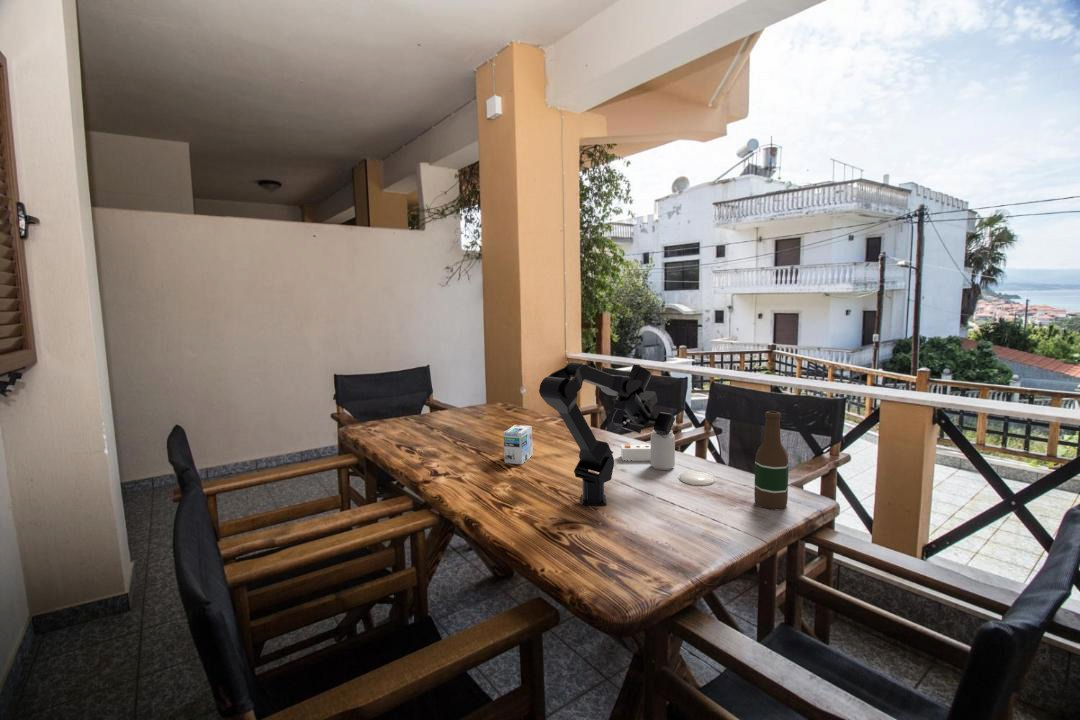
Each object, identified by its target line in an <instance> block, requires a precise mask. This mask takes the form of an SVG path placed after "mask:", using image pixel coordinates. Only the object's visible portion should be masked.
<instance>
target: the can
mask: <svg viewBox="0 0 1080 720" xmlns="http://www.w3.org/2000/svg"><path fill="white" fill-rule="evenodd" d="M650 445H651V461H650V465H651V467H652V468H653V469H655V470H658V471H669V470H672V469H673V468H674V467H675V466H676V462H675V461H676V450H675V449H676V436H675V434H674V431H673V429H671V430H670V433H669V434H668V436H667V439H665V438H663V437H661V436H659V435H657V434H656V432H655V431H654V429H652V433H651V434H650Z"/></svg>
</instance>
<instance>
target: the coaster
mask: <svg viewBox="0 0 1080 720" xmlns="http://www.w3.org/2000/svg"><path fill="white" fill-rule="evenodd" d="M678 476H679V477H678V478H679V480H680V481H681V482H683V483H684V484H687V485H692V486H701V485H702V486H710V485H712V484H714V483H715V482H716V478H715V476H714V475H712V474H710V473H707V472H703V471H685V472H681V473H680V474H679V475H678Z"/></svg>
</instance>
